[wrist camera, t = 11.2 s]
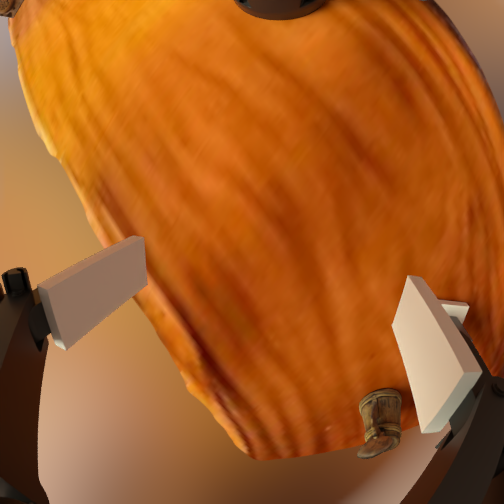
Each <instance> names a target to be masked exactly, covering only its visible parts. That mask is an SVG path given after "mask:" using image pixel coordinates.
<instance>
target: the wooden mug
mask: <svg viewBox="0 0 504 504" xmlns="http://www.w3.org/2000/svg"><path fill="white" fill-rule="evenodd" d="M401 401H402V399H401V395H400V393H399V392H398V391H396V390H394V389H388V388H387V389H381V390H377V391H374V392H372V393H370V394H368V395H366V396H365V397H364V398H363V399H362V400H361V402H360V403H359V409H360V413H361V415H362V417H363V421H364V425H365V430H366V433H365V436H364V437H365V440H366V443H365V444H364V445H362V447H361V448H360V449H359V452H358V454H357V456H358V458H362V459H368V458H373V457H375V456H377V455H379V454H381V453H383V452H386V451H388V450H392V449H394V448H396V447H397V446H398V445H399V443H400V437H401V427H400V415H401Z"/></svg>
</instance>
